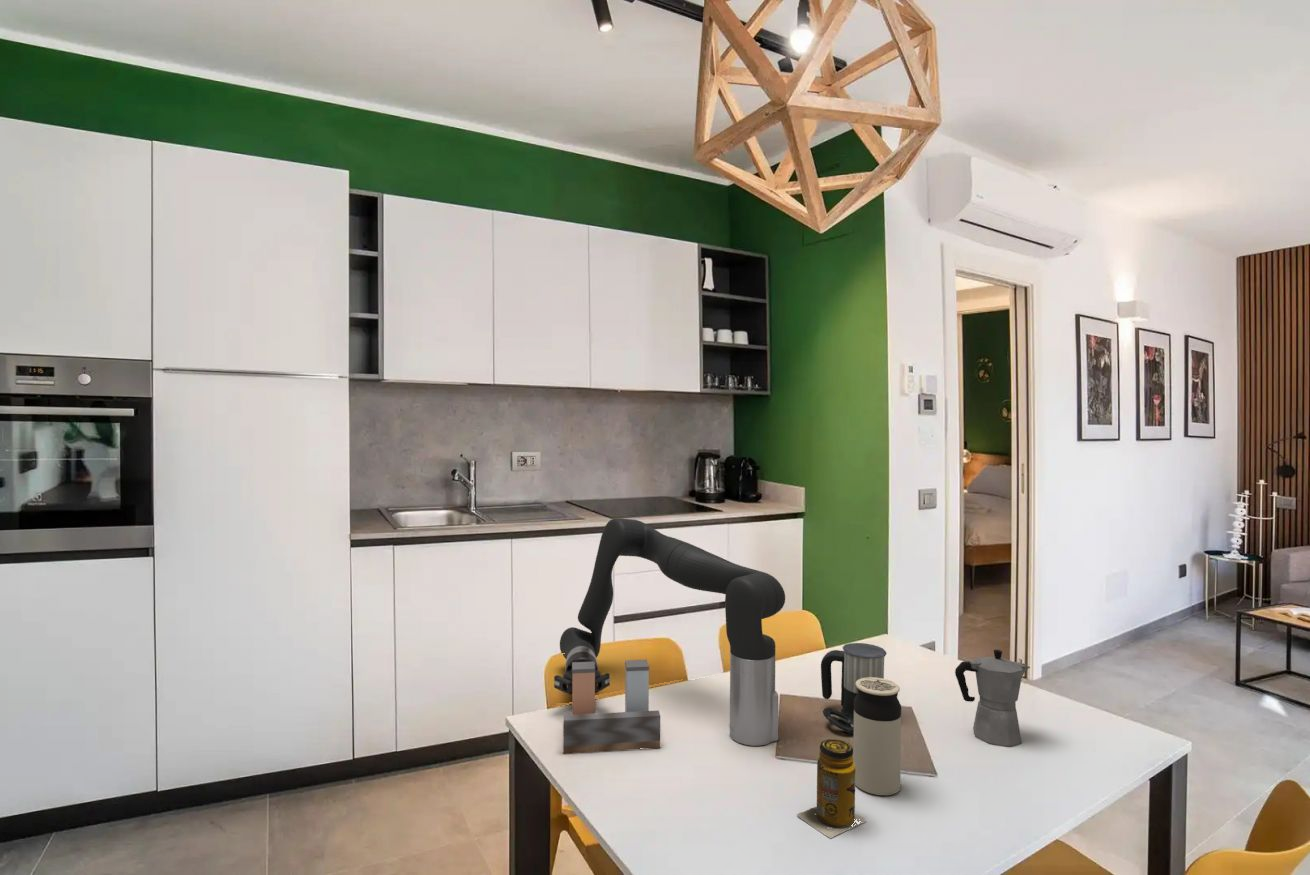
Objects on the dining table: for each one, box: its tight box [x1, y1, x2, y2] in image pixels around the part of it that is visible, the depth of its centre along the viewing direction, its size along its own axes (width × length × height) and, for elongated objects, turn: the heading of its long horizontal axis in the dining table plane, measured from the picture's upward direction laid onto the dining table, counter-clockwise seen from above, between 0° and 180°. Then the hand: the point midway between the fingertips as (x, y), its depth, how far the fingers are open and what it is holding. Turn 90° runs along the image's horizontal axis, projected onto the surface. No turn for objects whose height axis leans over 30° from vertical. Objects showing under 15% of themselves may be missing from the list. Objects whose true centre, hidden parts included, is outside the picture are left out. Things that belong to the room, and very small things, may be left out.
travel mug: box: [853, 677, 902, 796], centre depth 120 cm, size 8×8×18 cm
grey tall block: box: [624, 659, 650, 712], centre depth 140 cm, size 5×4×13 cm
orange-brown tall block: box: [571, 662, 596, 715], centre depth 139 cm, size 5×4×13 cm
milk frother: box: [820, 642, 888, 734], centre depth 146 cm, size 14×16×15 cm
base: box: [562, 710, 661, 755], centre depth 140 cm, size 19×14×6 cm
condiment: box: [796, 738, 867, 839], centre depth 110 cm, size 7×8×12 cm
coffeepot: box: [954, 649, 1031, 748], centre depth 139 cm, size 15×9×18 cm, turn 92°
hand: (582, 696), depth 142 cm, fingers closed
